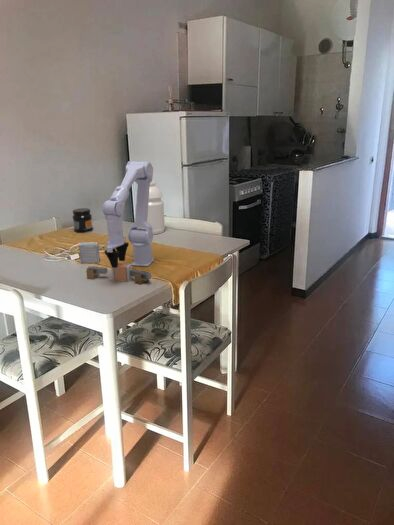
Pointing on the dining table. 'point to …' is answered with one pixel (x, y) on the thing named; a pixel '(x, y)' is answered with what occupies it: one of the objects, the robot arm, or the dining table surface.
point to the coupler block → (122, 272)
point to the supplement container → (82, 220)
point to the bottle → (155, 209)
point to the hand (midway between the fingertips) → (118, 263)
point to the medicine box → (89, 252)
